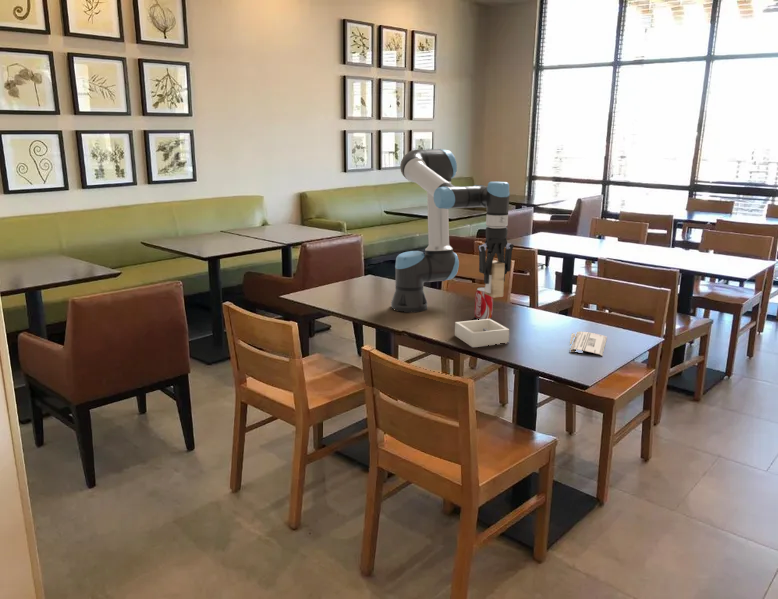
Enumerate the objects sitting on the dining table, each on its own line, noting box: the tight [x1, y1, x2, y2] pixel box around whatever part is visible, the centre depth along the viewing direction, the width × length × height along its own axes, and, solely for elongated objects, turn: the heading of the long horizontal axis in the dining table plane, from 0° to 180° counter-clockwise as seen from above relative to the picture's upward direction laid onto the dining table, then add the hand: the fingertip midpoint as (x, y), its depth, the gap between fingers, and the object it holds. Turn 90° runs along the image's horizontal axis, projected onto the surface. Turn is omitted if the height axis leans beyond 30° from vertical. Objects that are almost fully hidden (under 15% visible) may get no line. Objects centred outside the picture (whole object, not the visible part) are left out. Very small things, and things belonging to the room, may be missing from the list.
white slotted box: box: [454, 318, 510, 348], centre depth 221 cm, size 14×14×5 cm
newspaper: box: [569, 331, 608, 357], centre depth 216 cm, size 23×12×2 cm, turn 158°
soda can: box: [473, 286, 494, 320], centre depth 245 cm, size 7×7×12 cm
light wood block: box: [484, 259, 505, 299], centre depth 223 cm, size 6×4×12 cm, turn 22°
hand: (493, 291), depth 224 cm, fingers closed on light wood block, 4 cm apart
